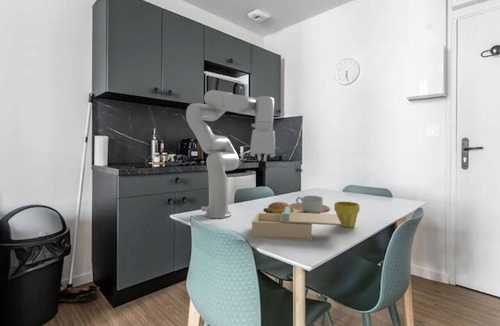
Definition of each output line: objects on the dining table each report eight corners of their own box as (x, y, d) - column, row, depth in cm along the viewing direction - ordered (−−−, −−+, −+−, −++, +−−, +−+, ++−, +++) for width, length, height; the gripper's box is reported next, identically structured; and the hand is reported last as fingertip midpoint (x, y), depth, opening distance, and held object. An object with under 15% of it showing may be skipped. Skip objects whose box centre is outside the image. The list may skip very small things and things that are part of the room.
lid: (279, 222, 100) (279, 214, 100) (281, 213, 114) (281, 206, 114) (341, 225, 97) (341, 216, 96) (336, 215, 110) (336, 208, 110)
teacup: (325, 211, 145) (325, 196, 144) (318, 215, 135) (319, 199, 135) (300, 208, 152) (300, 194, 152) (293, 212, 143) (293, 197, 142)
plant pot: (329, 223, 122) (329, 202, 121) (347, 221, 125) (348, 200, 125) (344, 230, 112) (345, 206, 111) (364, 227, 116) (365, 205, 115)
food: (284, 214, 139) (284, 198, 138) (298, 221, 126) (299, 204, 125) (259, 216, 134) (259, 200, 133) (272, 224, 121) (272, 206, 120)
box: (252, 237, 103) (252, 221, 102) (257, 226, 116) (257, 212, 116) (311, 240, 99) (311, 224, 98) (309, 229, 113) (310, 215, 112)
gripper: (244, 125, 111) (242, 170, 113) (281, 127, 108) (278, 172, 110) (248, 126, 119) (246, 168, 120) (282, 127, 116) (280, 170, 117)
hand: (262, 170), depth 115 cm, fingers closed
